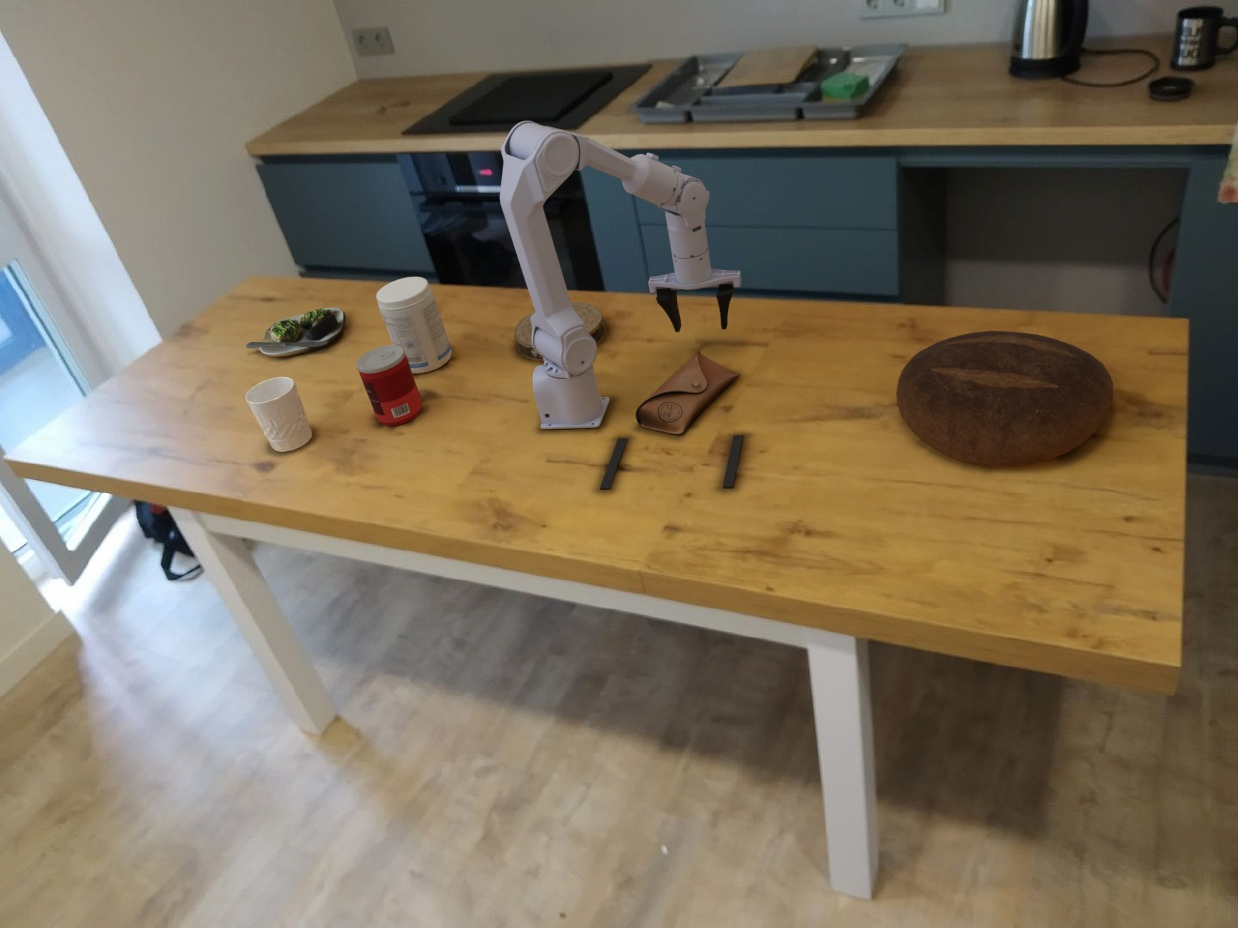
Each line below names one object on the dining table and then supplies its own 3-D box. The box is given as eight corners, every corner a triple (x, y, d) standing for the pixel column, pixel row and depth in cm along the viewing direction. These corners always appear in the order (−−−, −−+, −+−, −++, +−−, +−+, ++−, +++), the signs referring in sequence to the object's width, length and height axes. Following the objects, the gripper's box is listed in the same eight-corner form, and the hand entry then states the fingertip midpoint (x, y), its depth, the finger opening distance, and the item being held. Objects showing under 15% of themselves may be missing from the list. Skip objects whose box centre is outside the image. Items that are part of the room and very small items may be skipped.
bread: (928, 347, 151) (928, 296, 146) (1125, 367, 138) (1133, 312, 133) (868, 452, 133) (866, 398, 128) (1089, 488, 119) (1096, 428, 114)
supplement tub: (439, 343, 183) (416, 270, 175) (462, 359, 176) (439, 284, 168) (392, 364, 179) (366, 291, 171) (414, 381, 173) (388, 306, 164)
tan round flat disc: (545, 314, 185) (541, 300, 183) (620, 319, 178) (617, 304, 176) (501, 357, 174) (497, 342, 172) (579, 364, 167) (576, 349, 165)
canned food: (432, 402, 165) (413, 345, 159) (405, 429, 160) (384, 371, 153) (396, 399, 169) (375, 343, 162) (368, 425, 163) (346, 368, 157)
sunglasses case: (684, 434, 143) (658, 397, 142) (653, 446, 148) (628, 410, 147) (743, 372, 154) (720, 337, 153) (713, 385, 160) (690, 351, 158)
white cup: (273, 460, 159) (249, 408, 154) (265, 439, 165) (241, 389, 160) (320, 441, 162) (298, 390, 156) (310, 421, 168) (288, 371, 162)
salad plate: (243, 373, 188) (233, 352, 185) (256, 331, 203) (247, 312, 200) (342, 349, 188) (334, 328, 186) (348, 310, 203) (341, 289, 200)
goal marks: (600, 489, 137) (599, 487, 137) (618, 439, 146) (618, 438, 146) (733, 488, 132) (732, 486, 132) (743, 436, 141) (743, 434, 141)
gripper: (739, 236, 154) (748, 313, 162) (649, 243, 158) (662, 318, 166) (734, 255, 148) (743, 334, 156) (640, 262, 152) (654, 339, 160)
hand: (701, 327), depth 160 cm, fingers open, 7 cm apart
